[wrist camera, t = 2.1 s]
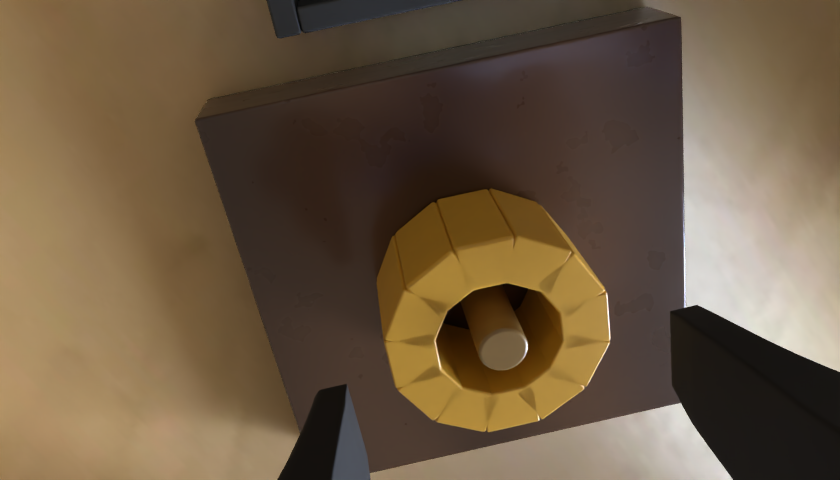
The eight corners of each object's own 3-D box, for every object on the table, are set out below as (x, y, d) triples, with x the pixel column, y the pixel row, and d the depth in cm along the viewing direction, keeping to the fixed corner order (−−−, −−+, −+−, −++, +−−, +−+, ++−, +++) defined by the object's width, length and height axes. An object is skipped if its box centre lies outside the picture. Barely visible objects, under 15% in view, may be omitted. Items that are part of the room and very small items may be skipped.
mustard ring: (562, 171, 18) (602, 216, 16) (578, 339, 21) (616, 404, 18) (359, 214, 18) (365, 268, 15) (400, 379, 20) (410, 450, 18)
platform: (648, 5, 19) (760, 39, 14) (661, 365, 24) (745, 480, 19) (206, 98, 18) (162, 167, 14) (318, 442, 24) (315, 579, 19)
